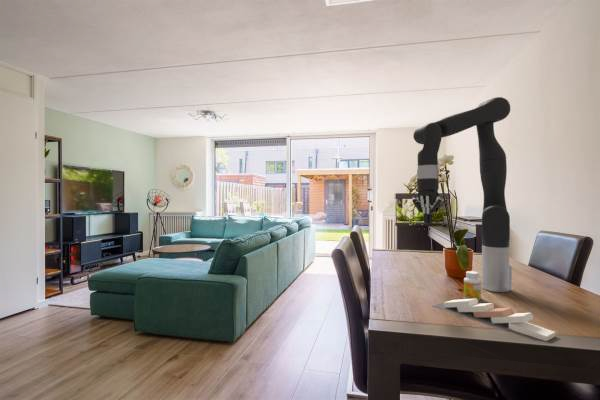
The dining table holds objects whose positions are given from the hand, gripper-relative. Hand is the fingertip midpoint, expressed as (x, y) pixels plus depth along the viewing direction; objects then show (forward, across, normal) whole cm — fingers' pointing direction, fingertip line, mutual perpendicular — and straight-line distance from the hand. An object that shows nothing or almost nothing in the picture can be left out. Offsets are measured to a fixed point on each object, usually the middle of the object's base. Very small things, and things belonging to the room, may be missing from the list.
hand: (428, 223), depth 121 cm
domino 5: (+26, +32, -5) cm, 41 cm away
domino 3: (+26, +22, -5) cm, 34 cm away
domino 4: (+26, +27, -5) cm, 38 cm away
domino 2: (+26, +17, -5) cm, 31 cm away
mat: (+27, +21, -5) cm, 35 cm away
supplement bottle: (+27, +11, +9) cm, 31 cm away
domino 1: (+26, +12, -5) cm, 29 cm away
